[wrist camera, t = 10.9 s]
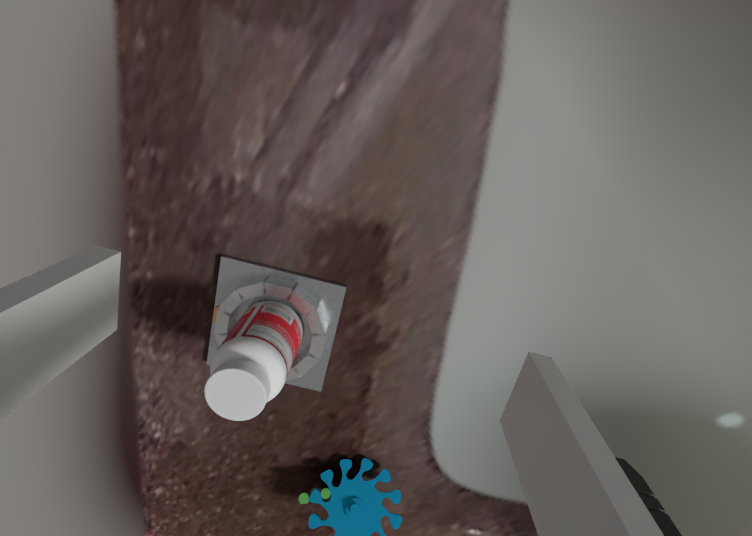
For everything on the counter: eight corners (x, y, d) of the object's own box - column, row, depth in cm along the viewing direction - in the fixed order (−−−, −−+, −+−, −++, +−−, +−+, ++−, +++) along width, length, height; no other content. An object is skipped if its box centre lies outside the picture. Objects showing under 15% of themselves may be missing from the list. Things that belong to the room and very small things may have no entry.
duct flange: (223, 254, 42) (214, 261, 40) (347, 285, 42) (344, 293, 40) (208, 361, 46) (200, 372, 44) (321, 388, 46) (318, 400, 44)
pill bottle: (251, 358, 45) (208, 434, 34) (233, 303, 43) (182, 366, 32) (310, 349, 44) (285, 423, 34) (295, 293, 42) (263, 354, 32)
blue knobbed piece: (413, 472, 47) (389, 580, 43) (409, 473, 53) (387, 570, 48) (315, 442, 48) (282, 545, 44) (320, 446, 54) (292, 538, 50)
